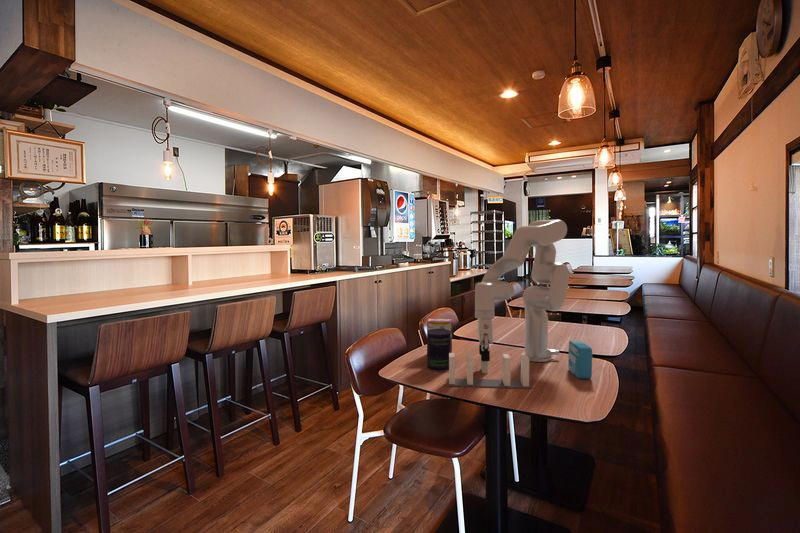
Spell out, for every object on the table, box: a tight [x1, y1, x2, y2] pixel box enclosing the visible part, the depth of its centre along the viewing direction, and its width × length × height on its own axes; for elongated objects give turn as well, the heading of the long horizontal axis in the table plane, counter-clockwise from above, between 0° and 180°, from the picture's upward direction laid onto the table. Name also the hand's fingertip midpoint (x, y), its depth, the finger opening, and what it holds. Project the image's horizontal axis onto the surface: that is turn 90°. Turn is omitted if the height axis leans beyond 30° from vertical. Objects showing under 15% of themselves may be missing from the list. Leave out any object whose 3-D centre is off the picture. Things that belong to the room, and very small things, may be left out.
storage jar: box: [426, 329, 451, 372], centre depth 166 cm, size 10×10×15 cm
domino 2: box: [466, 352, 474, 385], centre depth 148 cm, size 2×5×10 cm, turn 173°
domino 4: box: [520, 354, 530, 386], centre depth 145 cm, size 2×5×10 cm, turn 173°
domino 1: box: [448, 352, 456, 384], centre depth 148 cm, size 2×5×10 cm, turn 174°
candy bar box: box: [426, 318, 453, 355], centre depth 181 cm, size 11×5×16 cm, turn 84°
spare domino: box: [480, 344, 489, 374], centre depth 161 cm, size 2×5×10 cm, turn 174°
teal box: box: [567, 340, 593, 380], centre depth 156 cm, size 12×4×12 cm, turn 176°
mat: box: [446, 377, 533, 390], centre depth 147 cm, size 30×7×1 cm, turn 84°
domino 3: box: [501, 353, 511, 386], centre depth 146 cm, size 2×5×10 cm, turn 173°
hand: (484, 357), depth 161 cm, fingers open, 7 cm apart
